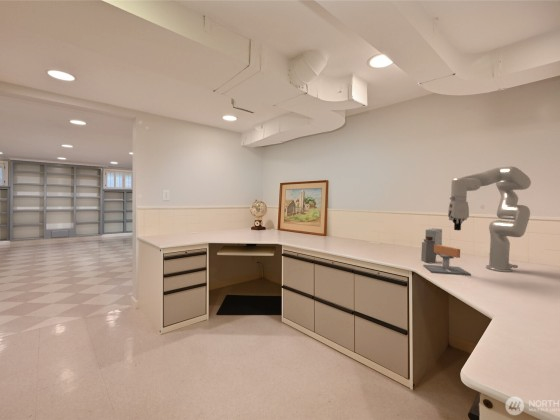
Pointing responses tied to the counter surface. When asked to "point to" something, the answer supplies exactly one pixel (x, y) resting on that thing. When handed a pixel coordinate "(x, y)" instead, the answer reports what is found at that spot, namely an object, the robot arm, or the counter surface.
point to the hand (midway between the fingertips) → (457, 230)
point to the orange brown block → (447, 251)
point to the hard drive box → (435, 235)
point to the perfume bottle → (428, 250)
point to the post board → (453, 270)
